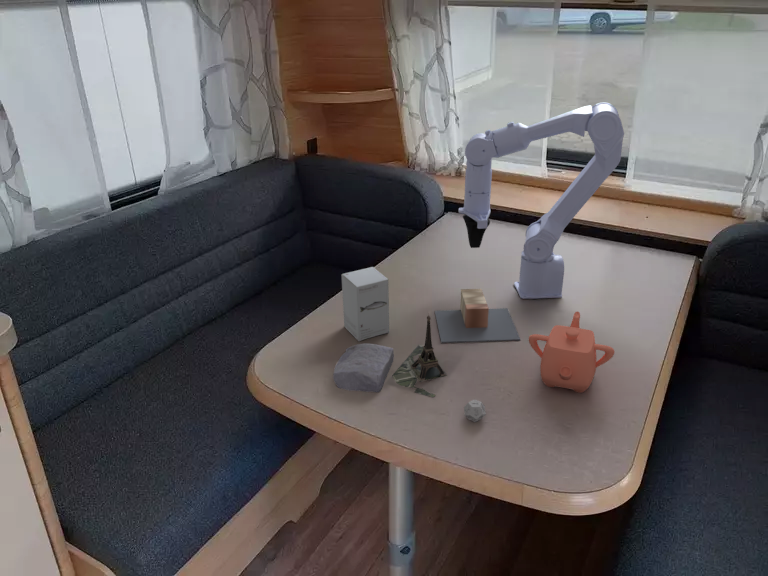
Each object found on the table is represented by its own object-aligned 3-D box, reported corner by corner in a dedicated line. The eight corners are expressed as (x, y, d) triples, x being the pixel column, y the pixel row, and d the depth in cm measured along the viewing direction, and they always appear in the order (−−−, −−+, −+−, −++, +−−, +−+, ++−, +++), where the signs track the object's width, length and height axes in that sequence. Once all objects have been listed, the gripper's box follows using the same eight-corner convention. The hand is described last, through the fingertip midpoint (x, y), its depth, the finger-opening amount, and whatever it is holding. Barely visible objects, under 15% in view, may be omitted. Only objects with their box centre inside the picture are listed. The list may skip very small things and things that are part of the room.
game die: (465, 409, 107) (466, 395, 106) (487, 413, 106) (488, 398, 105) (461, 422, 104) (462, 408, 103) (483, 426, 103) (484, 411, 102)
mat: (507, 309, 138) (507, 308, 138) (520, 340, 127) (520, 339, 126) (434, 311, 138) (434, 310, 138) (441, 343, 126) (441, 341, 126)
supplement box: (358, 342, 127) (355, 287, 122) (343, 326, 133) (340, 272, 127) (390, 333, 130) (389, 278, 125) (374, 318, 136) (372, 265, 130)
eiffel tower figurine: (418, 346, 126) (418, 287, 120) (465, 358, 122) (468, 297, 116) (384, 386, 115) (382, 323, 108) (435, 401, 110) (436, 335, 104)
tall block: (481, 288, 137) (488, 308, 129) (480, 306, 139) (487, 327, 131) (460, 289, 137) (466, 309, 129) (460, 307, 139) (466, 328, 131)
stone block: (332, 397, 114) (384, 394, 111) (326, 374, 113) (378, 371, 110) (350, 363, 125) (398, 360, 122) (344, 342, 123) (393, 338, 120)
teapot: (618, 394, 110) (627, 345, 105) (559, 409, 107) (565, 358, 102) (572, 353, 122) (578, 307, 117) (518, 365, 119) (522, 318, 114)
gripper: (454, 180, 145) (452, 235, 151) (465, 201, 132) (462, 260, 138) (485, 179, 145) (481, 234, 151) (498, 200, 132) (494, 259, 138)
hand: (474, 246), depth 144 cm, fingers closed
